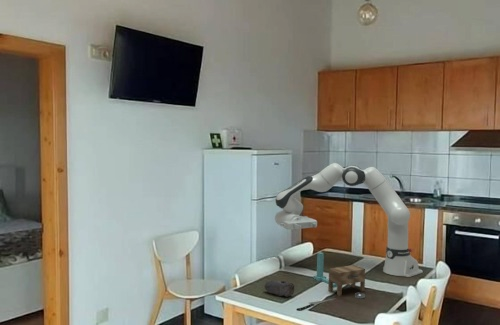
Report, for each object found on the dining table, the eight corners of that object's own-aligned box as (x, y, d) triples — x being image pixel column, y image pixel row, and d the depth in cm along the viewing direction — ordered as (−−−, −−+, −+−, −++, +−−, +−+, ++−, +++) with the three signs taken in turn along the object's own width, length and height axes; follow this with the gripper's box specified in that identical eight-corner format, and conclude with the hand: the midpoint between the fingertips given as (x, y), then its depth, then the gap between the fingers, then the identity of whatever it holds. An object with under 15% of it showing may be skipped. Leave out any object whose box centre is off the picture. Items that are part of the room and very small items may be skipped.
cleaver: (283, 306, 203) (300, 312, 196) (283, 305, 203) (300, 311, 196) (324, 292, 223) (341, 297, 216) (324, 291, 223) (341, 296, 216)
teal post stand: (311, 278, 243) (312, 252, 242) (322, 277, 246) (323, 251, 245) (331, 287, 229) (332, 260, 228) (342, 285, 232) (343, 258, 231)
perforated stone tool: (261, 293, 219) (262, 278, 218) (267, 290, 223) (267, 276, 223) (289, 299, 211) (290, 284, 210) (295, 296, 215) (295, 282, 215)
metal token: (363, 295, 218) (363, 292, 218) (365, 299, 214) (365, 295, 214) (354, 295, 218) (354, 292, 218) (356, 299, 214) (356, 295, 214)
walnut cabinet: (353, 286, 232) (354, 264, 231) (365, 291, 224) (366, 269, 223) (328, 290, 224) (329, 268, 223) (340, 296, 216) (340, 273, 216)
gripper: (278, 218, 258) (293, 222, 246) (308, 215, 268) (323, 219, 256) (278, 229, 258) (292, 233, 246) (308, 226, 268) (323, 230, 256)
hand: (308, 226), depth 251 cm, fingers open, 8 cm apart
